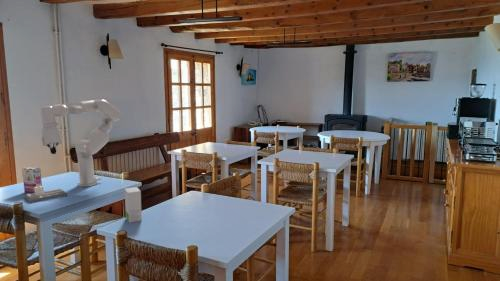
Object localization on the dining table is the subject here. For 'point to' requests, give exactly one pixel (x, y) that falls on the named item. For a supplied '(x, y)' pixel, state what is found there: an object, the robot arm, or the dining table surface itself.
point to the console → (45, 195)
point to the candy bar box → (31, 179)
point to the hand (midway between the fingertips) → (53, 153)
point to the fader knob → (39, 190)
